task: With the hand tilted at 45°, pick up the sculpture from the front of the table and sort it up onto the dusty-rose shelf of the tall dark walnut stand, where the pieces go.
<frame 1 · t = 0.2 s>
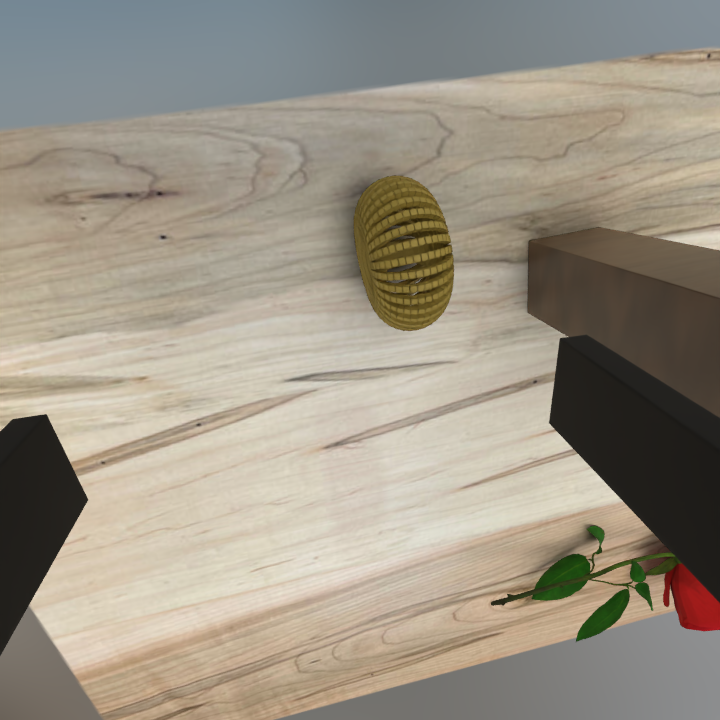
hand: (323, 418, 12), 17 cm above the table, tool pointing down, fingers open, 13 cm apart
flower: (606, 549, 43), on the table
stand post: (562, 271, 30), on the table
sculpture: (383, 243, 27), on the table
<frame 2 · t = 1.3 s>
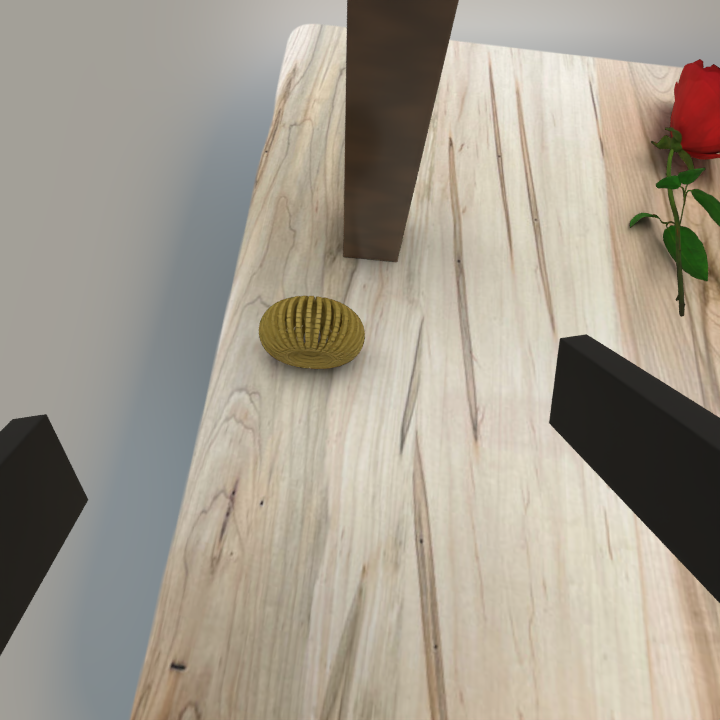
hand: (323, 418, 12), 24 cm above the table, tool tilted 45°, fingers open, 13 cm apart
flower: (666, 211, 44), on the table
stand post: (372, 236, 41), on the table
sculpture: (315, 353, 37), on the table
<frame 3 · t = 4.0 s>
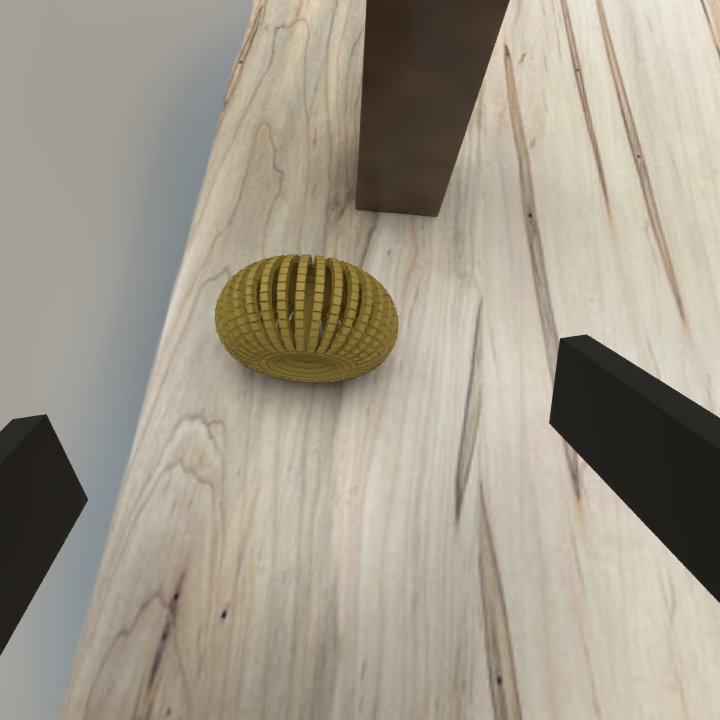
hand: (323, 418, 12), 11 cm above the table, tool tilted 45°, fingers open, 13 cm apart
stand post: (398, 179, 27), on the table
sculpture: (313, 356, 24), on the table
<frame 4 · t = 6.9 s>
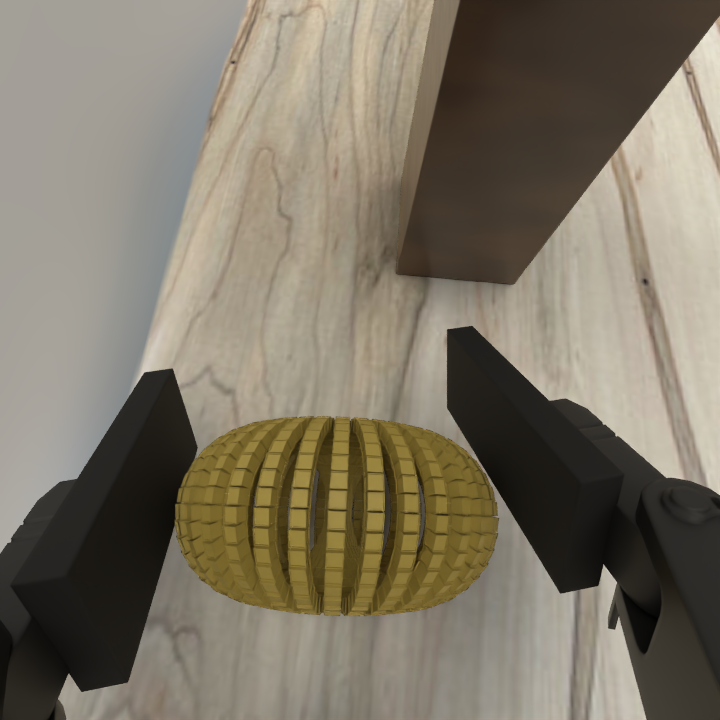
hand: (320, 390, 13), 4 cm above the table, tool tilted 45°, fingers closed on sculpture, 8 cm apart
stand post: (455, 229, 19), on the table
sculpture: (339, 509, 15), on the table, touching gripper
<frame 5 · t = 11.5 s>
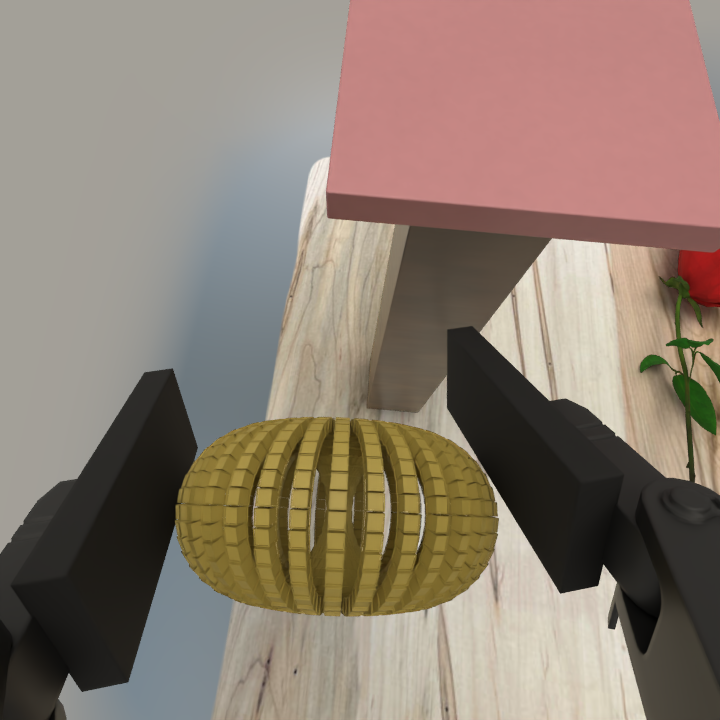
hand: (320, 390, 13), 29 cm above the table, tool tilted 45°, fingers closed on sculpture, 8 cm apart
flower: (675, 350, 46), on the table
stand post: (393, 385, 43), on the table
sculpture: (339, 510, 15), point 25 cm above the table, touching gripper
rose shelf: (514, 91, 13), resting on stand post
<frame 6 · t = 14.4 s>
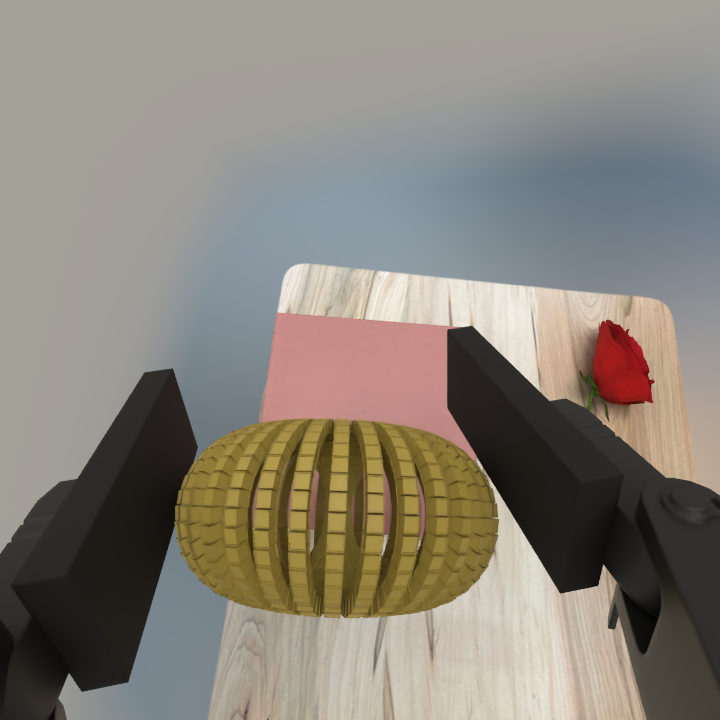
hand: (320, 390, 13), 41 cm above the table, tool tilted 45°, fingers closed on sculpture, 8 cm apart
flower: (590, 437, 54), on the table
sculpture: (339, 510, 15), point 37 cm above the table, touching gripper
rose shelf: (368, 422, 21), resting on stand post
when the fingers open (37 cm above the table, at t = 16.5 s): sculpture stays where it is, resting on rose shelf.
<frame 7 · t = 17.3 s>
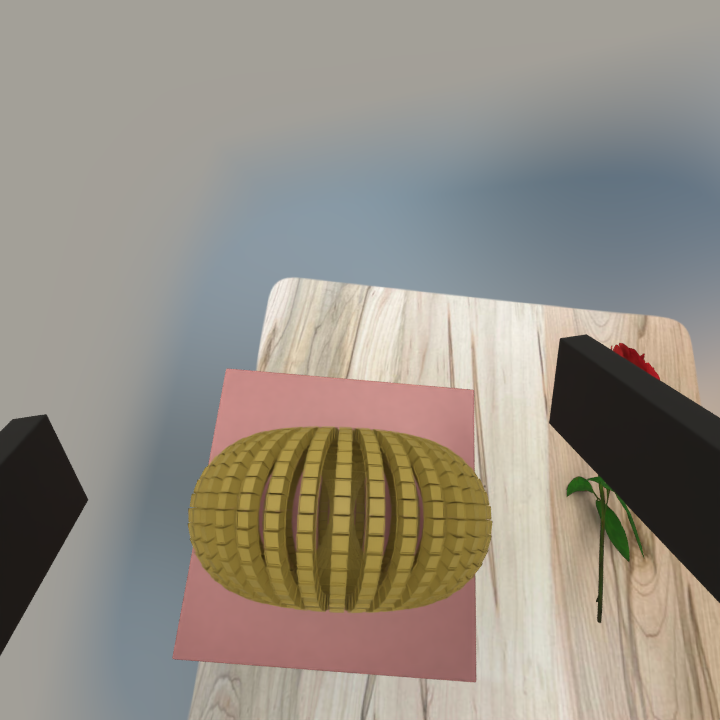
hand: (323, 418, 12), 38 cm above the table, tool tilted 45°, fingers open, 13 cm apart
flower: (601, 471, 50), on the table
sculpture: (341, 512, 16), point 33 cm above the table, touching rose shelf
rose shelf: (339, 510, 17), resting on stand post
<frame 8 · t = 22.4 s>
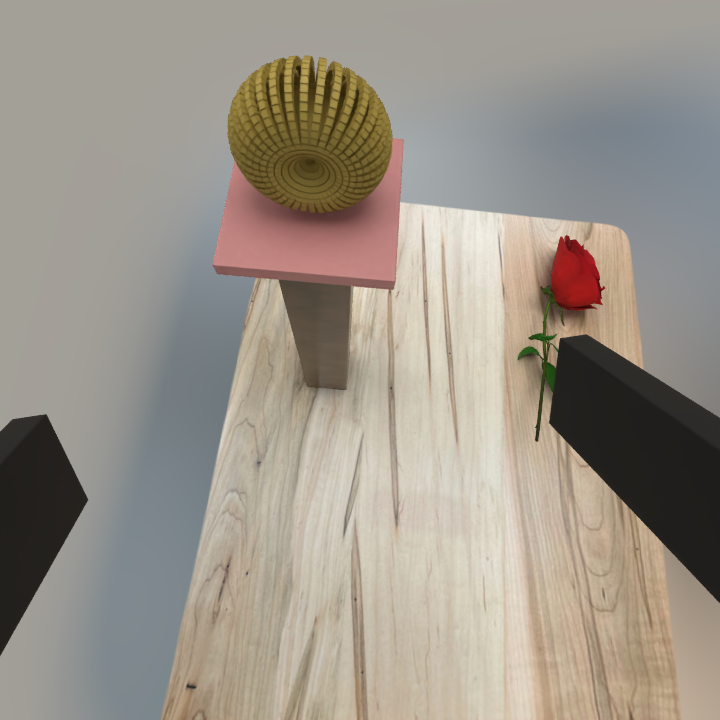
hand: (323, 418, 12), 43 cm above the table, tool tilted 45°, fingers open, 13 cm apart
flower: (548, 343, 59), on the table
stand post: (328, 369, 57), on the table
sculpture: (316, 201, 26), point 33 cm above the table, touching rose shelf
rose shelf: (315, 208, 26), resting on stand post
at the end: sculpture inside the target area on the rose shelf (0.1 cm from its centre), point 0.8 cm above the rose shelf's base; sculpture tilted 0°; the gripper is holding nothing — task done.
